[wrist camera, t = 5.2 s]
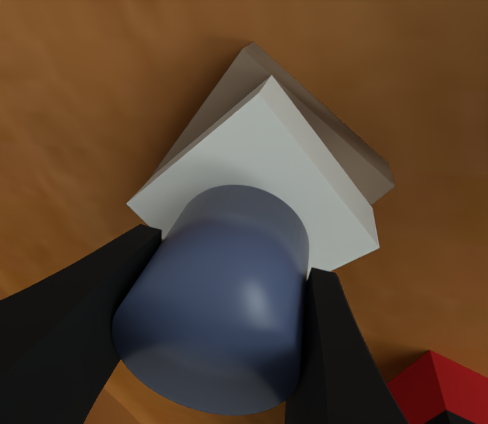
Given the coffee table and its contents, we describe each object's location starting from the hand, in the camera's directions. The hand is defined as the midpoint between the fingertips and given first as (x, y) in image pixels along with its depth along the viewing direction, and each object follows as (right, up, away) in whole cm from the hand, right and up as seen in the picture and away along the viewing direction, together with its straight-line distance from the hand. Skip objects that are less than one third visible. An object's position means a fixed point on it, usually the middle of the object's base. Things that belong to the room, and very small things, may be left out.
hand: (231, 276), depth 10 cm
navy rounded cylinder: (0, +1, +1) cm, 1 cm away
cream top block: (+1, +3, +4) cm, 5 cm away
